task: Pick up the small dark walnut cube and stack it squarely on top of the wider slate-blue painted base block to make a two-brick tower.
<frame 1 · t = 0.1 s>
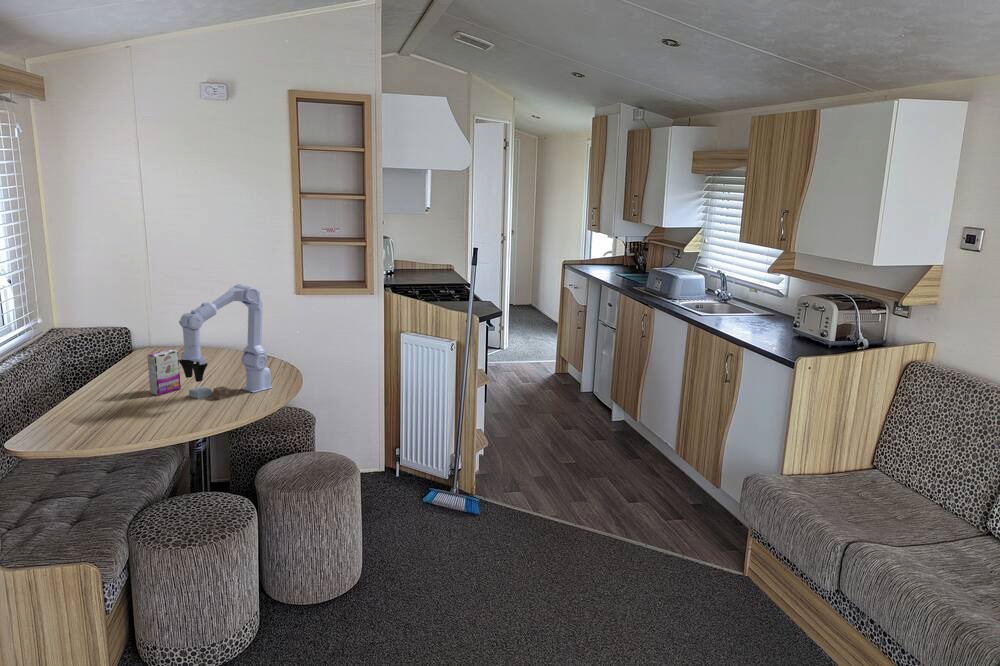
hand: (194, 379, 271), 10 cm above the table, tool pointing down, fingers open, 7 cm apart
base block: (200, 396, 284), on the table
candy bar box: (165, 392, 287), on the table
walnut cube: (221, 398, 282), on the table
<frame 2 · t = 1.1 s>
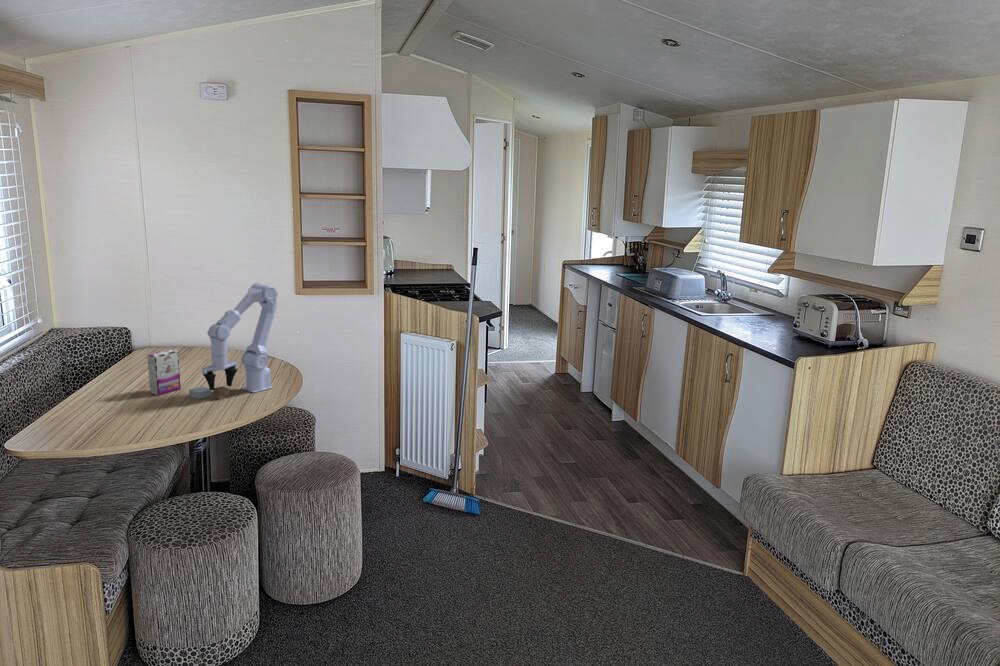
hand: (220, 387, 281), 4 cm above the table, tool pointing down, fingers open, 7 cm apart
nothing on the table moved.
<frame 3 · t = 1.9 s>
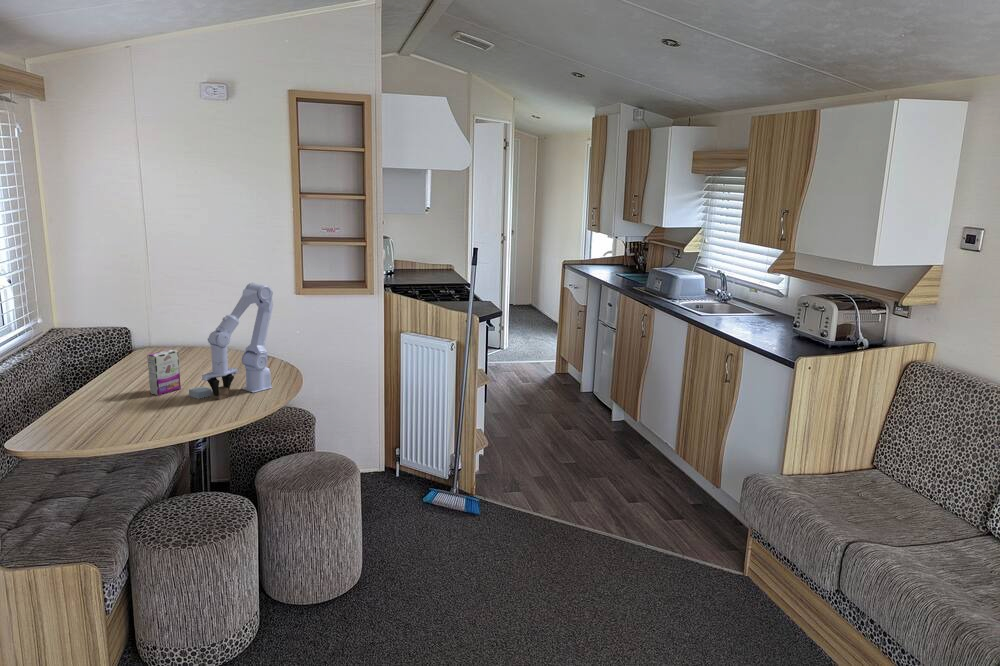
hand: (221, 394, 282), 1 cm above the table, tool pointing down, fingers closed on walnut cube, 4 cm apart
walnut cube: (221, 397, 282), on the table, touching gripper
everything else where it was.
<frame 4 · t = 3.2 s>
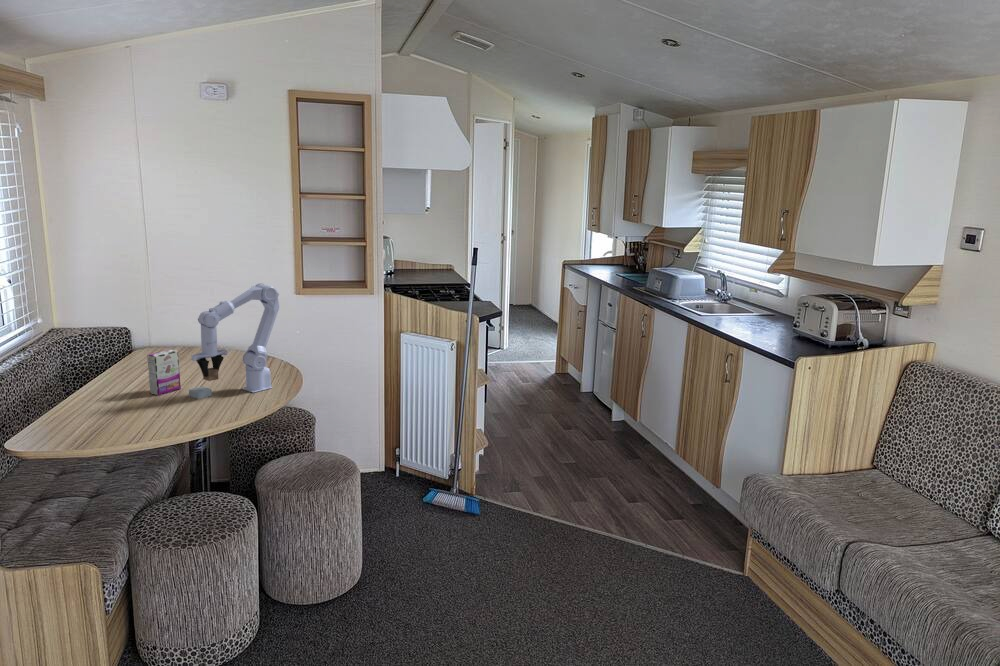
hand: (210, 375, 281), 9 cm above the table, tool pointing down, fingers closed on walnut cube, 4 cm apart
walnut cube: (210, 379, 281), point 7 cm above the table, touching gripper
everything else where it was.
when the fingers open (5 cm above the table, at t = 4.6 s): walnut cube drops 1 cm, resting on base block.
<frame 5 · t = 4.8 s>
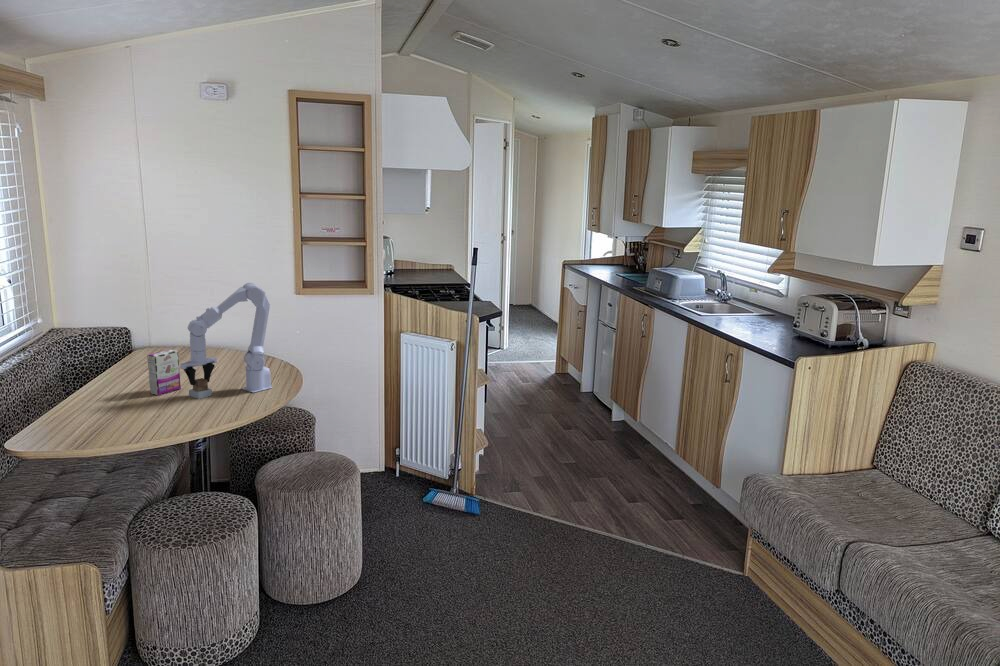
hand: (199, 383, 282), 5 cm above the table, tool pointing down, fingers open, 6 cm apart
base block: (200, 396, 284), on the table, touching walnut cube
walnut cube: (200, 389, 283), point 3 cm above the table, touching base block
everything else where it was.
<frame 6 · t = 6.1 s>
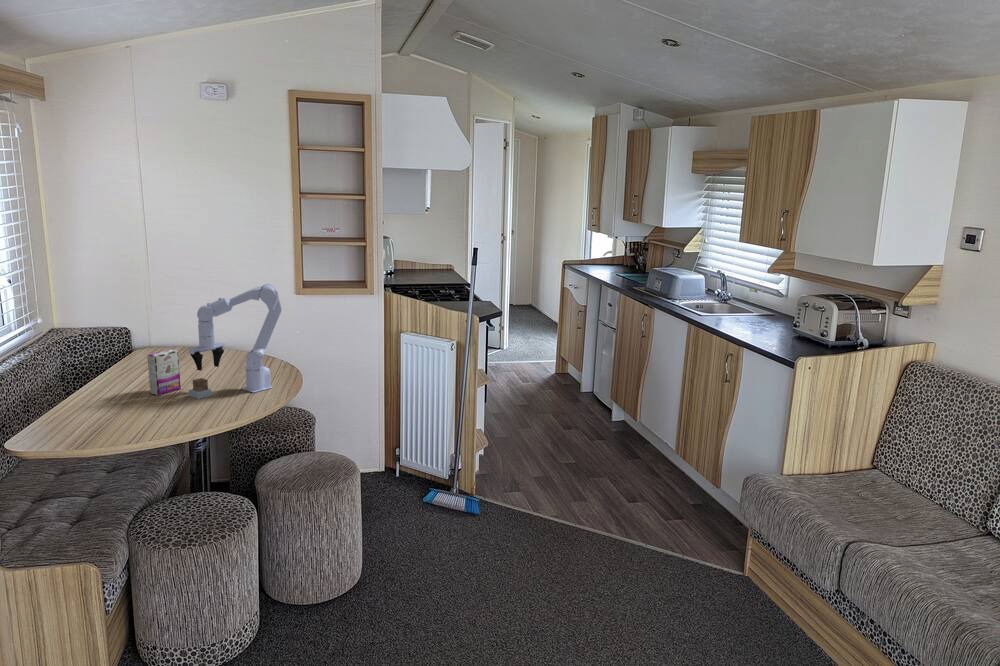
hand: (208, 368, 288), 10 cm above the table, tool pointing down, fingers open, 7 cm apart
base block: (200, 396, 284), on the table
walnut cube: (200, 389, 283), point 3 cm above the table
everything else where it was.
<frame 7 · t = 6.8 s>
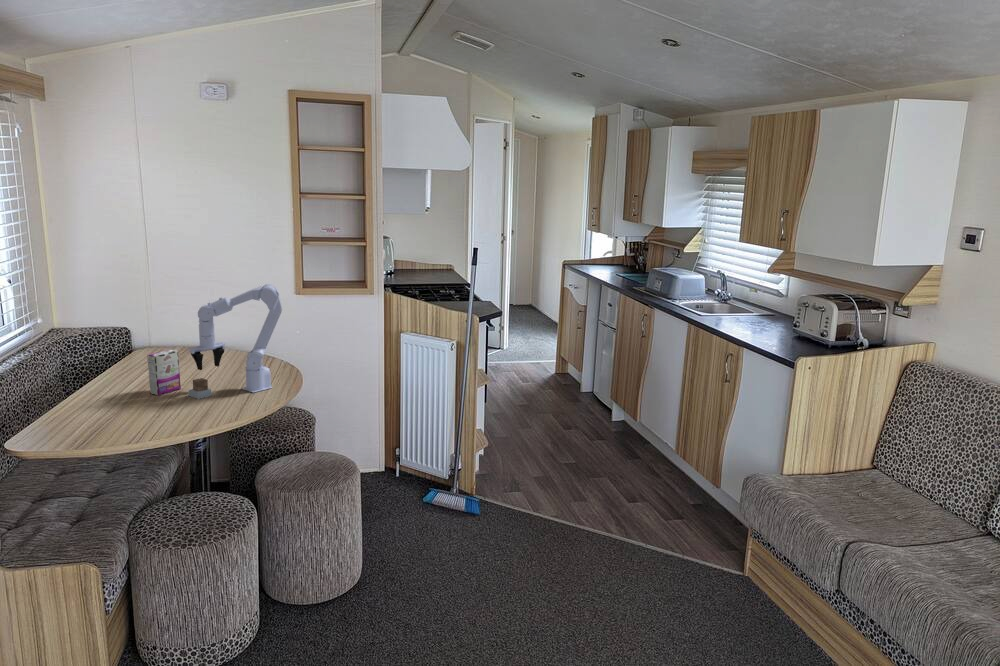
hand: (208, 367, 288), 10 cm above the table, tool pointing down, fingers open, 7 cm apart
base block: (200, 396, 284), on the table, touching walnut cube
walnut cube: (200, 389, 283), point 3 cm above the table, touching base block
everything else where it was.
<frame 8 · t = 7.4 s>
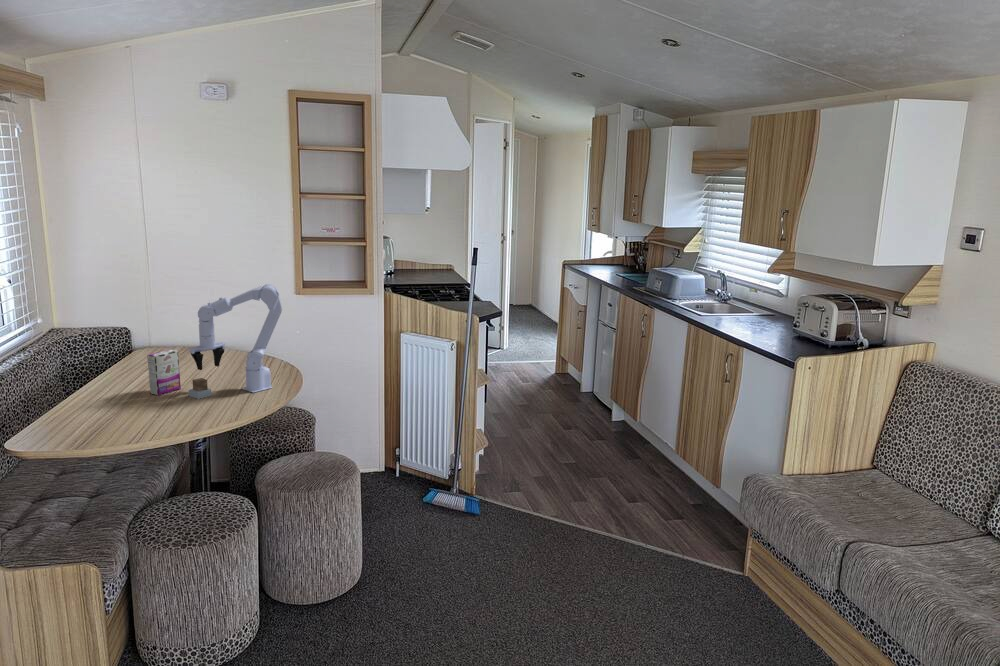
hand: (208, 367, 288), 10 cm above the table, tool pointing down, fingers open, 7 cm apart
nothing on the table moved.
at the end: walnut cube 0.3 cm off-centre on the base block, point 3.0 cm above the base block's base; walnut cube tilted 1°; base block moved 0.4 cm from its start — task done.
